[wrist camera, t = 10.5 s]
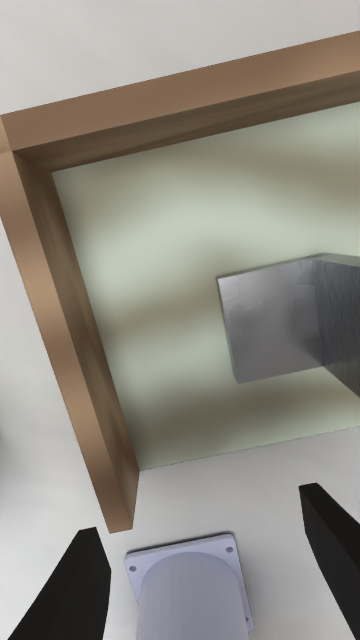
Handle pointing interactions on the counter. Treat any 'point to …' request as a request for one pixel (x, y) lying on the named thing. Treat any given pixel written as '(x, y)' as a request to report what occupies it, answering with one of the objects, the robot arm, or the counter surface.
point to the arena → (181, 249)
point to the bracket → (294, 318)
